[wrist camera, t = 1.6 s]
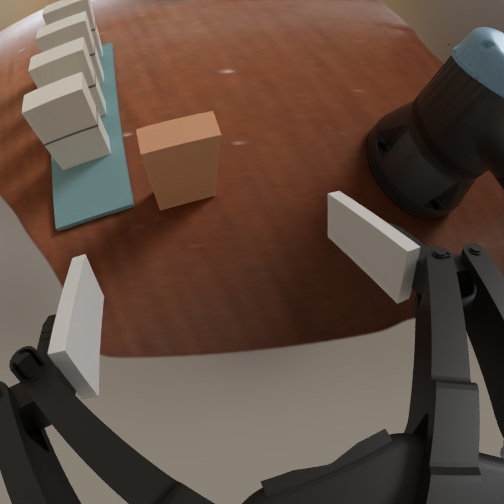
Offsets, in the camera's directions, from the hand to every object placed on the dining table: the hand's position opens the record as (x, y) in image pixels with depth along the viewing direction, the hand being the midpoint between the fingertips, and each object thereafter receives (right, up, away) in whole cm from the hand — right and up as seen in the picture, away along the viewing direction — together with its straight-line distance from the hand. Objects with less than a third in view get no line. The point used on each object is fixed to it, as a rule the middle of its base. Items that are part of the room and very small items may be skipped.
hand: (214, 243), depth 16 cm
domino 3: (-19, +16, +16) cm, 30 cm away
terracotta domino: (-5, +6, +16) cm, 18 cm away
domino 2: (-20, +22, +17) cm, 35 cm away
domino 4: (-17, +11, +15) cm, 25 cm away
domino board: (-19, +16, +17) cm, 30 cm away
